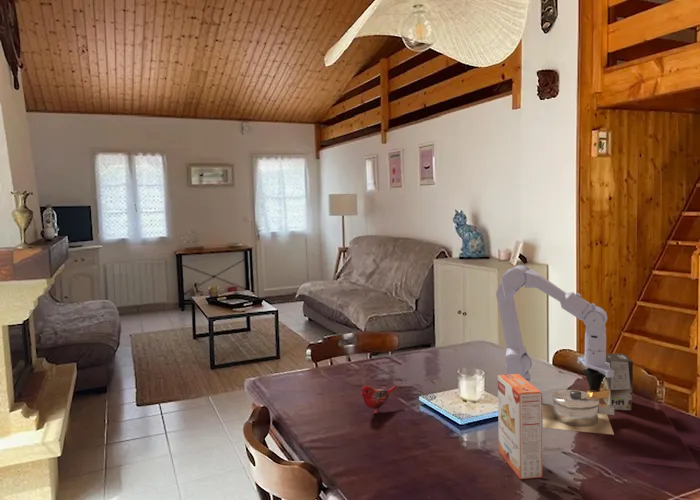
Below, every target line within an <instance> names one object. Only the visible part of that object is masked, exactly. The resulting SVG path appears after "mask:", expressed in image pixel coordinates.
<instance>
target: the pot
mask: <svg viewBox="0 0 700 500" xmlns="http://www.w3.org/2000/svg"><path fill="white" fill-rule="evenodd" d="M552 401H553V400H552ZM552 406H553V417H554V419H555V420H557V421H558V422H560V423H563V424H566V425H570V426H576V427H589V426H594V425H596V424H597V423H598V413H599V414H607V416H608V415H610V416H615V410H614V406H613V405H607V404H606V403H605V404H604V403H603V404H602V403H600V404H599V406H597V407H595V408H590V409H576V408H569V407H565V406H562V405H559V404H557V403H555V402H554V401H553V404H552Z"/></svg>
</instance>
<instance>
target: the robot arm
mask: <svg viewBox="0 0 700 500" xmlns="http://www.w3.org/2000/svg"><path fill="white" fill-rule="evenodd" d="M522 287H524V288H526V289H527V288H528V289H529V288H532V289H534V288H535V289H538V290H539V291H541V292H543V293H544V294H546V295H548V296H550V297H552V298H553V299H555V300H556V301H558V302H559V303H560V307H561V309H563V310H564V311H566V312H567V313H568V314H570V315H572V316H573V317H574V318H576V319H578V320H579V321H583V324H584V326H585V333H584V356H578V357H577V364H578V365H579V364H580V365H583V367H586V369H583V371H582V372H583V375H584V376H585V377H586V380H587V382H588V387H589V390H595V389H601V385H602V384H603V379H604V377H605V376H606V377H607V378H609V377H614V370H612V369H611V368H610V367H609V363H607V362H606V354H607V328H606V326H607V325H606V323H607V321H608V314H607V312H606V310H605V309H603V307H602V306H597V305H596V304H595V303H593V302H591V303H590V302H589V301H587V300H586V299H585V298H583V297H582V294H580V293H579V292H577V293H575V292H573V291H571V292H566V291H565V290H563V289H562V288H560V287H558V286H557V285H556V284H555V283H553V282H551V281H550V280H549V279H547V278H546V277H545V276H543V275H542V274H540V273H538V272H537V271H536V270H534V269H531V268H529V267H528V266H527V265H524V264H518V265H516V266H514V267H511V268H509V269H507V270H506V271H505V272H504V273H503V274H502V275H501V278H500V282H499V284H498V287H497V289H496V292H495V293H496V296H495V297H496V300H497V301H496V302H497V305H498V311H499V316H500V320H501V326H502V331H503V336H504V342H505V346H506V351H505V365H504V371H505V374H519V375H521V376H522V377H523V378H524V379H526V380H527V381H528V382H529V383H531V374H530V372H529V370H530V369H531V368H532V364H533V362H532V359H531V356H529V354H528V351H527V348H526V347H525V346H524V342H523V337H522V333H521V328H520V322H519V318H518V314H517V313H518V312H517V307H516V302H515V295H516V294H517V293H518V291H520V288H522Z"/></svg>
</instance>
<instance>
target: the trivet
mask: <svg viewBox="0 0 700 500" xmlns="http://www.w3.org/2000/svg"><path fill="white" fill-rule="evenodd" d="M543 428H544V429H552V430H553V429H554V430H564V431H572V432H573V431H574V432H581V433H582V432H583V433H594V434H603V435H613V436H614V435H615V433H614V430H613V428H612V424H611V422H610V419H609V416H608V414H599V413H598V423H597V424H596V425H594V426H589V427H576V426H570V425H566V424H563V423H560V422H558V421H557V420H555V419H554V417H553V404H550V405H549V404H542V429H543Z"/></svg>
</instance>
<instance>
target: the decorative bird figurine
mask: <svg viewBox="0 0 700 500" xmlns="http://www.w3.org/2000/svg"><path fill="white" fill-rule="evenodd" d="M397 386H398V384H395V385H394V386H392V387H390V388H389V389H388V390H387V389H380V388H379V389H378V388H377V389H376V388H373V387H372V386H370V385H366V384H365V385H364V386H363V387H362V389H361V393H360V396H362V398H363V402H364V404H365V406H367V407H368V408H369V409H373V410H375V409H376V410H375V411H373V413H370V414H369V415H370V416H371V415H376V414H377V413H379V412H380V411H381V409H380V408H381V407H382V406H383V405H385V403H386V402H387V400H388V399H389V396H390V394H391V393H392V392H393V391H394V390H395V389H396V388H397Z"/></svg>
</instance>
